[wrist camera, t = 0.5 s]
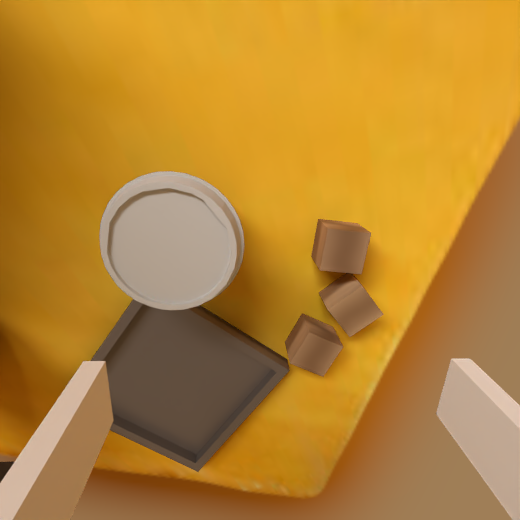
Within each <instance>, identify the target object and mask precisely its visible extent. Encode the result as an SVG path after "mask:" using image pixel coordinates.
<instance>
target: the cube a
mask: <svg viewBox="0 0 520 520" xmlns="http://www.w3.org/2000/svg"><path fill="white" fill-rule="evenodd" d="M285 344H286V348H287V353H288V357H289V361H290V364H293V365H295V366H298V367H300V368H303V369H305V370H308V371H310V372H313V373H315V374H318V375H320V376H324V375H325V373H326V372H327V370H328V369H329V367H330V366H331V364H332V363H333V361H334V360H335V358H336V357H337V355H338V354H339V352H340V351H341V349H342V348H343V346H342V344H341V342H340V340H339V338H338V336H337V334H336V332H335V330H334V328H333V327H332V326H330V325H328V324H325V323H323V322H321V321H319V320H316V319H314V318H312V317H309V316H307V315H305V314H303V313H302V315H301V316H300V318H299V320H298V321H297V323H296V325H295V326H294V328H293V330H292V331H291V333H290V335H289V336H288V338H287V340H286V341H285Z"/></svg>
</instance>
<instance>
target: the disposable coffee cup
mask: <svg viewBox="0 0 520 520" xmlns="http://www.w3.org/2000/svg"><path fill="white" fill-rule="evenodd" d="M100 249H101V255H102V259H103V262H104V264H105V267H106V269H107V271H108V273H109V274H110V276H111V278H112V279H113V280H114V282H115V283H116V284H117V286H118V287H119V288H120V289H122V290H123V291H124V292H125V293H126V294H127V295H129V296H130V297H132V298H133V299H134V300H136V301H138V302H140V303H143V304H145V305H147V306H150V307H153V308H158V309H162V310H184V309H188V308H192V307H196V306H199V305H201V304H203V303H205V302H208V301H210V300H211V299H213V298H215V297H216V296H218V295H219V294H221V293H222V292H223V291H224V290H225V289H226V288H227V287H228V286H229V285H230V284H231V282H232V281H233V279H234V278H235V276H236V275H237V273H238V270H239V268H240V265H241V263H242V260H243V252H244V235H243V229H242V225H241V222H240V220H239V217H238V215H237V213H236V211H235V209H234V208H233V206H232V205H231V204H230V202H229V201H228V200H227V198H226V197H225V196H224V195H223V194H222V193H221V192H220V191H219V190H218V189H216V188H215V187H213V186H212V185H211V184H209V183H207V182H206V181H204V180H202V179H200V178H197V177H194V176H191V175H189V174H186V173H179V172H172V171H168V172H154V173H150V174H146V175H143V176H140V177H138V178H136V179H134V180H132V181H130V182H128V183H127V184H126V185H124V186H123V187H122V188H121V189H120V190H118V191H117V192H116V194H115V195H114V196H113V197H112V199H111V200H110V201H109V203H108V205H107V207H106V209H105V211H104V213H103V216H102V220H101V224H100Z"/></svg>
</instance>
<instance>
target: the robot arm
mask: <svg viewBox="0 0 520 520" xmlns="http://www.w3.org/2000/svg"><path fill="white" fill-rule="evenodd" d="M436 414H437V416H438V417H439V419H440V420H441V422H442V423H443V424H444V426H445V427H446V428H447V430H448V431H449V433H450V434H451V435H452V437H453V438H454V439H455V441H456V442H457V444H458V445H459V446H460V448H461V449H462V450H463V452H464V453H465V455H466V456H467V457H468V459H469V460H470V462H471V463H472V464H473V465H474V467H475V468H476V470H477V471H478V473H479V474H480V475H481V477H482V478H483V480H484V481H485V482H486V484H487V485H488V486H489V488H490V489H491V491H492V492H493V493H494V495H495V496H496V498H497V499H498V500H499V502H500V503H501V504H502V506H503V507H504V509H505V510H506V511H507V513H508V514H509V515H510V517H511V518H512V520H520V405H519V404H518V403H516V402H515V401H514V400H513V399H512V398H511V397H510V396H509V395H508V394H507V393H506V392H505V391H504V390H503V389H501V388H500V387H499V386H498V385H497V384H496V383H495V382H494V381H493V380H492V379H491V378H490V377H489V376H488V375H487V374H486V373H485V372H484V371H483V370H482V369H480V368H479V367H478V366H477V365H476V364H475V363H474V362H473V361H472V360H471V359H451V362H450V365H449V369H448V373H447V376H446V380H445V383H444V388H443V391H442V394H441V398H440V402H439V405H438V409H437V413H436ZM112 423H113V413H112V405H111V398H110V391H109V383H108V376H107V369H106V361H83V363H82V364H81V366H80V367H79V369H78V370H77V371H76V373H75V374H74V376H73V377H72V379H71V380H70V382H69V383H68V385H67V386H66V388H65V389H64V390H63V392H62V393H61V395H60V396H59V398H58V399H57V401H56V402H55V404H54V405H53V407H52V408H51V409H50V411H49V412H48V414H47V415H46V417H45V418H44V420H43V421H42V423H41V424H40V426H39V427H38V428H37V430H36V431H35V433H34V434H33V436H32V437H31V439H30V440H29V442H28V443H27V445H26V446H25V448H24V449H23V450H22V452H21V453H20V455H19V456H18V458H17V459H16V461H15V462H0V520H71V517H72V515H73V512H74V510H75V508H76V506H77V503H78V501H79V499H80V496H81V494H82V492H83V489H84V487H85V485H86V483H87V480H88V478H89V476H90V473H91V471H92V469H93V467H94V464H95V462H96V460H97V457H98V455H99V453H100V450H101V448H102V446H103V444H104V441H105V439H106V437H107V434H108V432H109V430H110V427H111V425H112Z"/></svg>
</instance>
